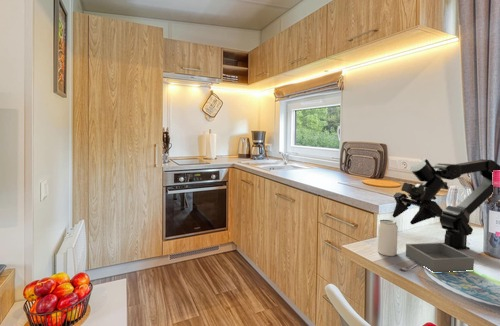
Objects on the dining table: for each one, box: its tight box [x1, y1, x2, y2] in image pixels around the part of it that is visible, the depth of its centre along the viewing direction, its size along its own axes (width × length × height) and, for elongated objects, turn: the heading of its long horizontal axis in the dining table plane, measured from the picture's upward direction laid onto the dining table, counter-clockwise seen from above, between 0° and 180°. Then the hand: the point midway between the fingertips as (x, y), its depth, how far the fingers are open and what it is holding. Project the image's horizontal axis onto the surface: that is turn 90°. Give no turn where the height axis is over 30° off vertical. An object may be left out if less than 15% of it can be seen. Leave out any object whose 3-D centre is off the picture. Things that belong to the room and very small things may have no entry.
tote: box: [405, 242, 475, 272], centre depth 94 cm, size 14×14×4 cm
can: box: [377, 219, 399, 257], centre depth 103 cm, size 6×6×12 cm
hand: (401, 220), depth 104 cm, fingers open, 9 cm apart
